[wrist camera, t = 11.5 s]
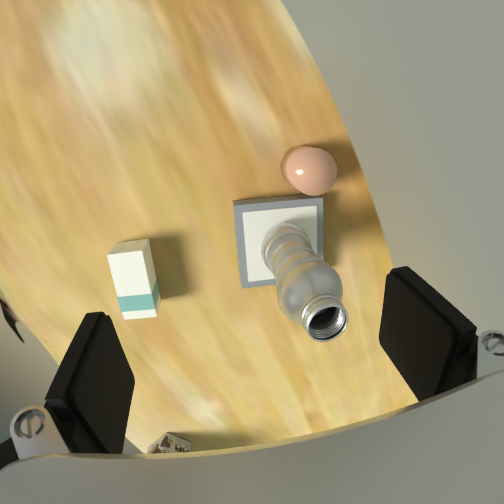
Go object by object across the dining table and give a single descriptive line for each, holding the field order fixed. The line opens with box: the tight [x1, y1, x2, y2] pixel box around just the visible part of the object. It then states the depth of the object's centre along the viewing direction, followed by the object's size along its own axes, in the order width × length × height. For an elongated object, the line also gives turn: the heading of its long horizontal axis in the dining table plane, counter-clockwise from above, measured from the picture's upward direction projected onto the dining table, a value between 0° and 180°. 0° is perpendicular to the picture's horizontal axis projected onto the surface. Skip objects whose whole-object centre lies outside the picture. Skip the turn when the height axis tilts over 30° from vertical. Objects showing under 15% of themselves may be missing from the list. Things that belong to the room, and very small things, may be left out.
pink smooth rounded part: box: [281, 146, 337, 196], centre depth 41 cm, size 6×6×6 cm
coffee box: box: [147, 432, 190, 454], centre depth 54 cm, size 9×6×16 cm
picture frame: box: [233, 194, 323, 288], centre depth 46 cm, size 12×12×3 cm
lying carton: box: [107, 239, 161, 319], centre depth 44 cm, size 10×5×5 cm, turn 4°
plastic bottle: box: [261, 223, 348, 342], centre depth 35 cm, size 6×7×20 cm
